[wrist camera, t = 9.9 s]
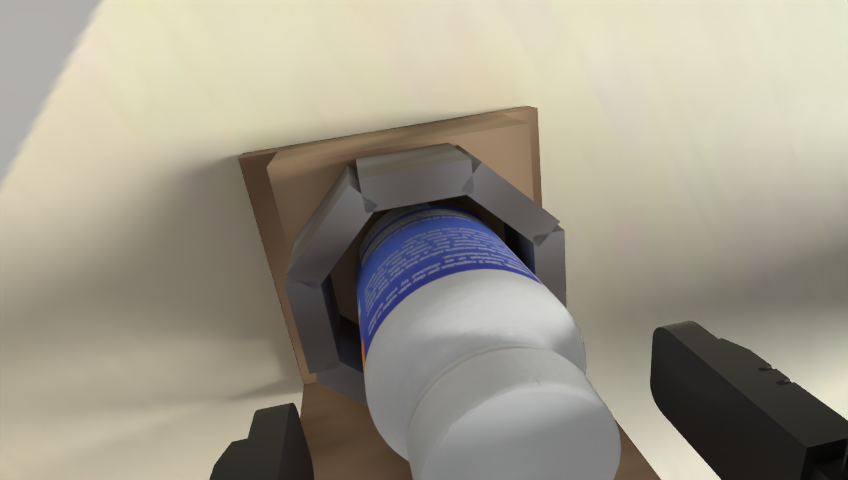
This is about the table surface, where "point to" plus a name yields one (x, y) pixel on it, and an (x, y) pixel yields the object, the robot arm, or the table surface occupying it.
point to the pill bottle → (473, 356)
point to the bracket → (342, 236)
